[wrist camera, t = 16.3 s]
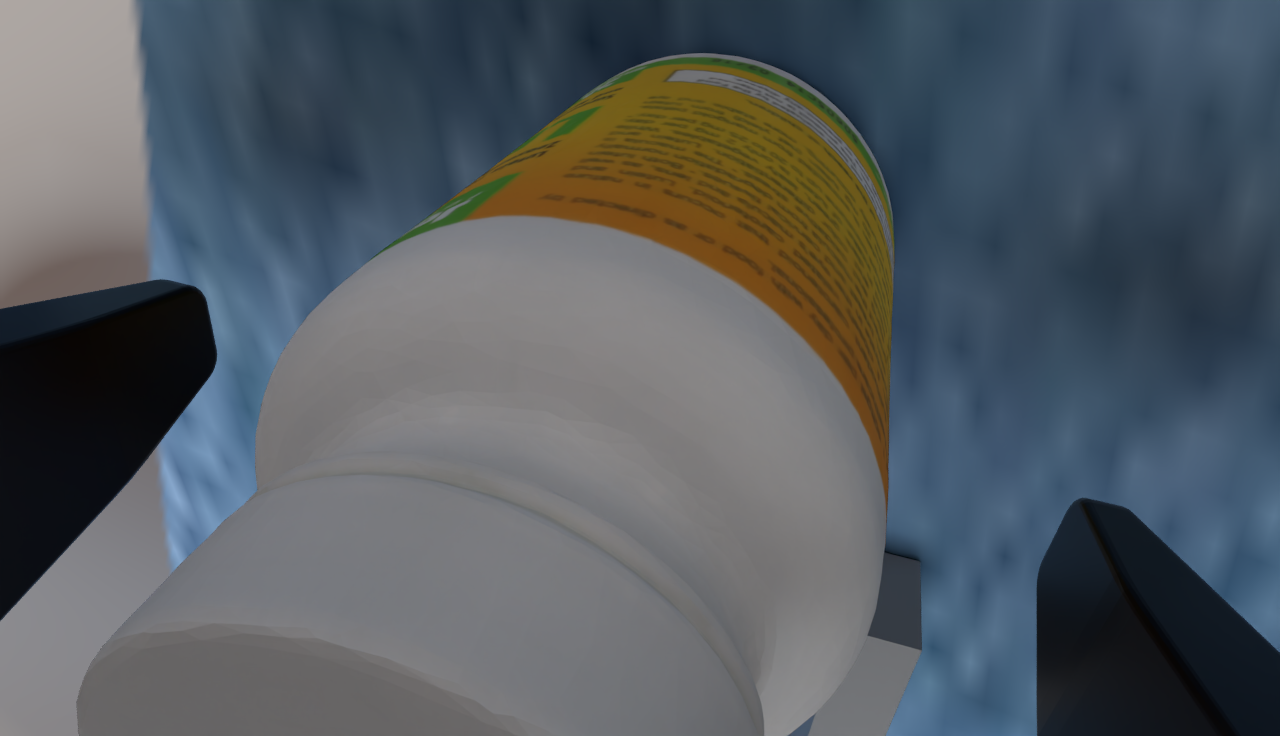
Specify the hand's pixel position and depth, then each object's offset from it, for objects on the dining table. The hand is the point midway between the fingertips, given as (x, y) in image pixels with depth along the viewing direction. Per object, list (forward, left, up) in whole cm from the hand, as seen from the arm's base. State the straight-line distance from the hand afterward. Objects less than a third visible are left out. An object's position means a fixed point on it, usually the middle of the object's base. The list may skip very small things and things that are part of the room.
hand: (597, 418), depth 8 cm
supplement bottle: (0, 0, -5) cm, 5 cm away
